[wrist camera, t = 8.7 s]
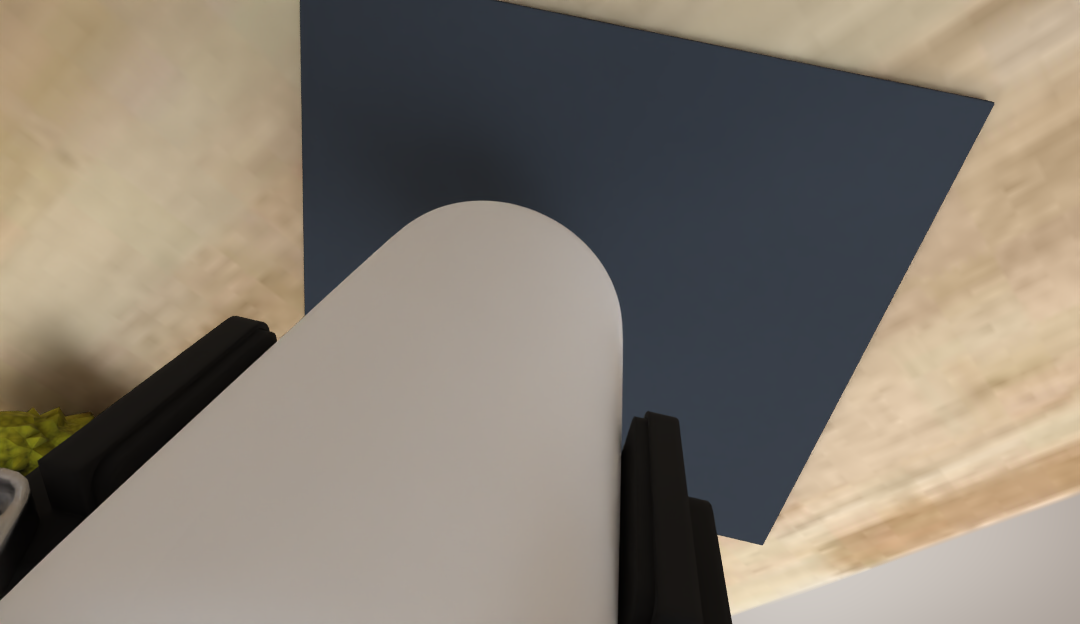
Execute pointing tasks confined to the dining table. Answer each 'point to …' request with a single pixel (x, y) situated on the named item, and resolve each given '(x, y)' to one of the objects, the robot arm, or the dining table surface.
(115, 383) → the dining table surface
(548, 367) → the can
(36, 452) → the vegetable
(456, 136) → the mat
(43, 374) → the dining table surface
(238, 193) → the dining table surface
